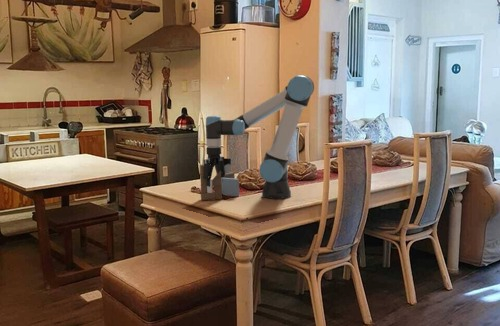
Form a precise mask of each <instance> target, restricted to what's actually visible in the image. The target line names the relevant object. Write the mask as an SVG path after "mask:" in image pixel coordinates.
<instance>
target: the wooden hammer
mask: <svg viewBox="0 0 500 326" xmlns="http://www.w3.org/2000/svg"><path fill="white" fill-rule="evenodd" d="M199 173H200V175H199V177H200V178H199V179H200V200H201V201H211V200H223V195H222V182H221V171H220V172H219V173H218V174H217V173H216V175H215V176H214V177H213V178H211V180H212V187H214V191H212V193H209V192H207V182H206V180H205V179H203V174H204V163H202V164H200V165H199Z"/></svg>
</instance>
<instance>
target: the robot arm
mask: <svg viewBox="0 0 500 326" xmlns="http://www.w3.org/2000/svg"><path fill="white" fill-rule="evenodd" d="M314 91H315V84H314V81H313V80H312V79H311V78H310V77H309V76H307V75H302V74H298V75H295V76H293V77H292V78H291V79H290V80H289V82H288V83H287V86H285V87H284V89H283V90H282V91H280V92H278V93H277V94H275V95H273V96H272V97H270V98H268V99H267V100H264V101H263V102H261V103H260V104H258V105H256V106H255V107H253V108H251V109H250V110H247V112H245V113H243V114H241V115H240V116H237V117H236V118H234V119H225V120H224V119H221V116H220V115H208V116H207V117H206V118H205V137H206V138H205V140H206V151H205V152H206V155H207V159H203V164H204V174H203V179H205V180H206V182H207V192H209V193H212V192H213V186H212V174H213V170H214V168H215V167H216V170H215V172H216V171H217V173H216V175H217V174H218V173H219V172H220V171H221V182H222V177H224V175H225V168H224V158H225V157H224V156H221V154H222V136H242V135H244V134H245V132H246V130H247V129H249V128H250V127H252V126H254V125H256V124H258V123H259V122H261V121H263V120H264V119H267V118H268V117H269V116H271V115H273V114H276V113H277V112H278V111H280V110H282V109H283V112H282V114H281V117H280V121H279V122H278V125H277V130H276V132H275V135H274V138H273V141H272V143H271V146H270V149H269V150H266V151H265V154H264V157H263V161H262V162H261V164H260V165H259V175H260V177H261V178H262V180H264V181H265V182H264V184H263V188H262V190H261V193H262V194H261V196H262V197H263V198H266V199H277V200H279V199H287V198H290V197H291V196H292V192H291V188H290V184H289V182H288V163H289V157H288V152H289V150H290V147H291V143H292V141H293V138H294V136H295V132H296V130H297V127H298V124H299V120H300V118H301V115H302V112H303V109H305V108H308V105H309V102H310V99H311V96H312V95H313V93H314ZM222 172H223V173H222Z"/></svg>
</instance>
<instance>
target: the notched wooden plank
mask: <svg viewBox="0 0 500 326" xmlns="http://www.w3.org/2000/svg"><path fill="white" fill-rule="evenodd" d="M222 178H233V179H236V178H235V172H233V171H231V172H230V173H226V174H225V175H224V177H222Z"/></svg>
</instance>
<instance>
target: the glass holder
mask: <svg viewBox="0 0 500 326" xmlns="http://www.w3.org/2000/svg"><path fill="white" fill-rule="evenodd" d="M214 168H215V169H214V170H215V173H216V174H217V171H216V167H215V166H214ZM224 168H225V174H226V173H230V172H232V159H231V158H225V157H224ZM222 173H223V172H222Z"/></svg>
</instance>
